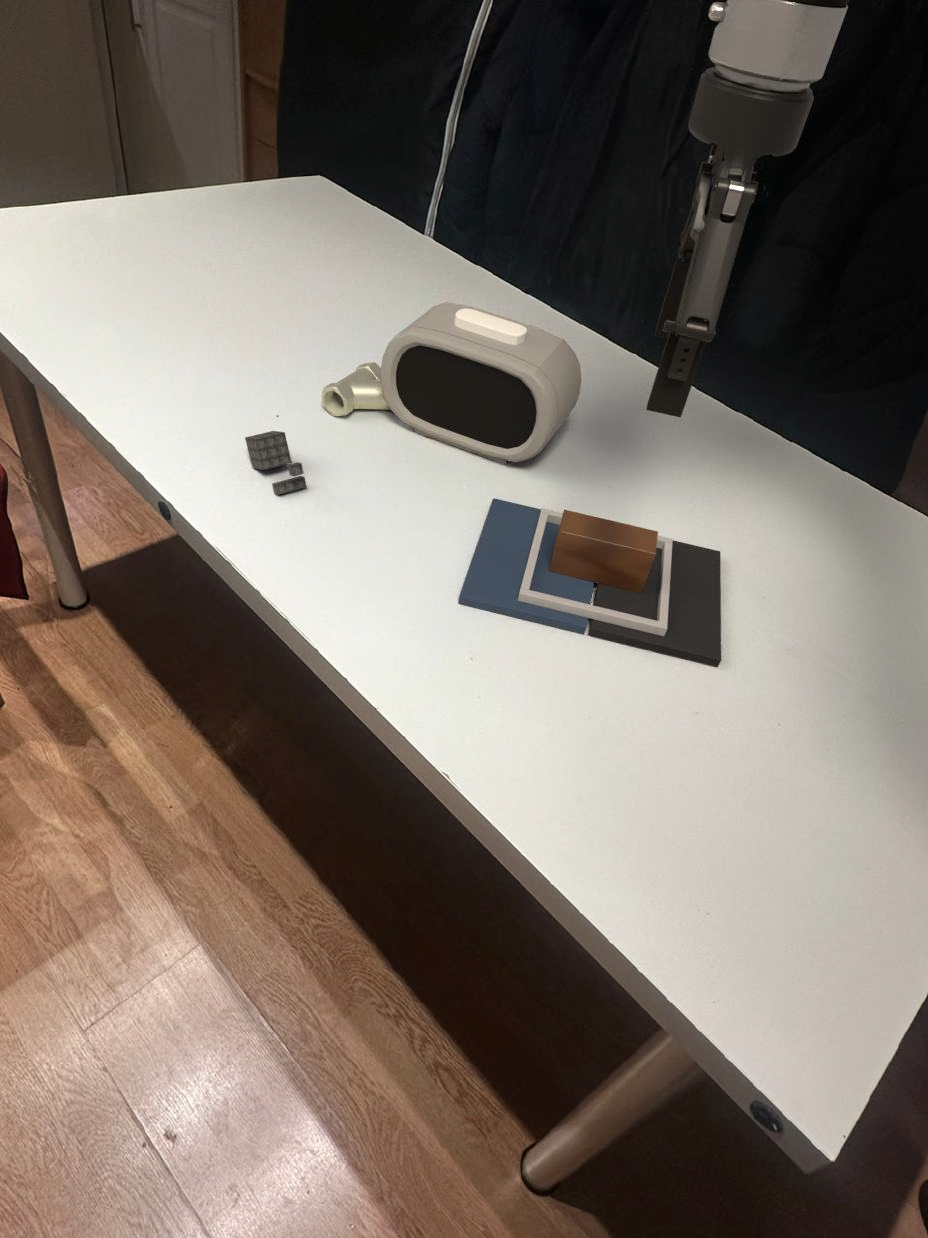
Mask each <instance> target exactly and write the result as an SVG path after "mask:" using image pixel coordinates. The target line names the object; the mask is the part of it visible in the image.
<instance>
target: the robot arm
mask: <svg viewBox="0 0 928 1238" xmlns="http://www.w3.org/2000/svg"><path fill="white" fill-rule="evenodd" d="M849 1H850V0H726V2H723V1H722V2H720V1H716V2H713V3H712V4H711V5H710V8H709V10H708V13H707V16H708V18H709V20H710V21H713V22H719V23H718V24H717V25H716V26H715V28H714V31H713V35H712V38H711V41H710V46H709V50H708V53H707V56H708V58H709V60H710V61H711V62H712V63H713V64H714V66H712V67H709V68H707V69H706V70H705V71H704V72H702V73H701V74H700V78H699V82H698V86H697V90H696V93H695V97H694V100H693V104H692V107H691V111H690V115H689V119H688V123H687V126H688V130H689V132H690V133H691V135H692V136H693V137H695V138H696V139H697V140H698V141H701V142H703V143H705V144H708V145H710V146H711V147H710V149H709V153H708V154H709V155H708V157H707V161H702V162H701V164H700V167H699V169H698V175H697V179H696V182H695V190H694V193H693V197H692V202H691V206H690V210H689V214H688V216H687V220H686V223H685V226H684V228H683V231H681V233H680V246H678V250H677V255H678V256H677V259H682V261H681V260H675V262H674V266H673V270H672V272H671V276H670V280H669V282H668V286H667V290H666V292H665V296H664V299H663V302H662V306H661V310H660V313H659V317H658V320H657V323H656V327H655V330H654V334H653V337H654V338H656V339H660V340H661V339H662V340H666V342H665V345H664V347H663V351H662V354H661V358H660V361H659V365H658V368H657V371H656V375H655V378H654V380H653V384H652V387H651V390H650V394H649V396H648V397H649V398H648V400H647V403H646V409H645V410H646V411H648V412H653V413H659V414H663V415H667V416H671V417H675V418H680V419H681V418H682V415H683V412H684V409H685V406H686V403H687V401H688V398H689V396H690V395H689V394H690V392H691V390H692V387H693V384H694V380H695V377H696V375H697V372H698V369H699V366H700V363H701V360H702V357H703V355H704V351H705V349H706V346H707V343H711V342H712V341H713V339H714V338H715V336H716V334H717V324H718V321H719V317H720V315H721V314H720V313H721V310H722V306H723V303H724V299H725V296H726V293H727V288H728V286H729V283H730V282H729V281H730V278H731V274H732V271H733V267H734V264H735V260H736V257H737V253H738V249H739V246H740V243H741V239H742V236H743V233H744V229H745V225H746V222H747V219H748V217H749V213H750V209H751V207H752V204H753V203H754V202H755V199H756V196H757V193H758V188H759V181H756V179H757V174H758V173H757V172H758V171H754V168H755V163H756V160H757V159H758V158H762V157H764V156H769V157H770V158H774V157H777V158H778V157H783V156H787V155H790V154H791V153H792V152H793V151H794V150H795V149H796V148H797V146H798V144H799V140H800V139H801V135H802V133H803V130H804V127H805V124H806V121H807V119H808V116H809V113H810V110H811V108H812V104H813V102H814V100H815V96H814V95H813V90H812V88H811V87H810V86H811V84H813V83H817V82H818V81H820V80H821V79H822V78H823V77H824V74H825V72H826V68H827V65H828V62H829V61H830V57H831V55H832V52H833V49H834V47H835V44H836V41H837V39H838V35H839V33H840V30H841V28H842V25H843V23H844V19H845V16H846V14H847V11H848V9H849V6H848V4H849ZM695 318H697V319H695ZM700 319H703V320H700Z"/></svg>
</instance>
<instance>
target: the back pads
mask: <svg viewBox="0 0 928 1238" xmlns="http://www.w3.org/2000/svg"><path fill="white" fill-rule="evenodd" d="M562 515H563V512H560V511H555V510H552V509H548V508H544V507H543V508H537V507H533V506H529V505H525V504H520V503H516V502H512V501H508V500H503V499H499V498H495V497H494V498H492V501H491V504H490V506H489V509H488V512H487V515H486V518H485V520H484V524H483V527H482V528H481V529H482V530H481V532H480V535H479V538H478V541H477V544H476V547H475V549H474V552H473V556H472V558H471V560H470V561H471V562H470V564H469V566H468V567H469V568H468V570H467V572H466V576H465V578H464V581H463V584H462V588H461V590H460V593H459V596H458V604H459V605H462V606H467V607H469V608H474V609H479V610H483V611H487V612H490V613H495V614H499V615H502V616H507V617H511V618H515V619H520V620H524V621H527V622H532V623H536V624H538V625H539V624H540V625H543V626H547V627H552V628H556V629H559V630H564V631H569V632H573V633H576V634H581V635H585V633H586V630H587V628H588V627H587V626H588V620H589V619H590V625H589V631H588V637H592V638H595V639H600V640H605V641H609V642H612V643H616V644H621V645H625V646H629V647H634V648H638V649H641V650H644V651H649V652H654V653H657V654H661V655H665V656H670V657H673V658H677V659H682V660H686V661H690V662H693V663H699V664H702V665H707V666H710V667H714V668H718V667H719V666H720V664H721V662H722V596H721V595H722V593H721V592H722V589H721V587H722V585H721V583H722V581H721V580H722V579H721V574H722V573H721V551H720V550H717V549H712V548H708V547H704V546H699V545H695V544H690V543H687V542H684V541H683V542H682V541H678V540H673V538H671V537H667V536H663V535H658V536H657V548H656V555H655V558H654V561H653V563H652V566H651V569H650V571H649V574H648V577H647V579H646V582H645V585H644V587H643V590H642V593H641V594H640V593H636V592H631V591H627V590H623V589H619V588H615V587H611V586H607V585H602V584H598V583H596V587H595V594H594V600H593V604H591V602H592V596H593V590H594V585H595V583H594V582H590V581H586V580H582V579H578V578H574V577H569V576H565V575H561V574H557V573H553V572H549V567H550V563H551V559H552V555H553V550H554V546H555V543H556V539H557V535H558V531H559V527H560V523H561V519H562Z"/></svg>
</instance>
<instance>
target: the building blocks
mask: <svg viewBox="0 0 928 1238" xmlns="http://www.w3.org/2000/svg"><path fill="white" fill-rule="evenodd" d="M244 439H245V444H246V447H247V451H248V455H249V460H250V464H251V467H252V468H253V469H257V470H261V471H266V470H269V469H274V468H277V467H281V466H285V465H286V466H287V469H288V474H289V476H291V477H290V478H287V479H283V480H279V481H276V482H273V483H271V486H272V489H273V493H274V494H275V495H278V496H279V495H282V494H287V493H290V492H294V491H297V490H300V489H304V488H307V486H308V485H307V482H306V478H305V476H302V475H304V469H303V465H302V462H298V461H297V462H293V463H292V457H291V453H290V450H289V444H288V440H287V436H286V432H285V431H277V430H271V431H266V432H262V433H258V434H253V435H249V436H245V437H244Z"/></svg>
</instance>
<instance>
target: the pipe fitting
mask: <svg viewBox="0 0 928 1238" xmlns="http://www.w3.org/2000/svg"><path fill="white" fill-rule="evenodd" d="M321 403H322V405H323V407H324V408H325V409H326V410H327V412H328V413H329V414H330V415H332V416H333V417H343V416H347V415H348V414H350V413H351V412H353V411H354V410H390V411H392V410H391V409H390V407H389V405H388V403H387V401H386V399H385V397H384V393H383V389H382V385H381V366H380V365H379V364H377V363H376V362H374V361H373V362H365V363H361V364H360V365H358V366H357V367H355V370H354V371H353V372H351V373H349V374H348V375H347V376H345V377H343V378H342V379H340V380H338V381H337V382H331V383H329V384H327V385H325V386H324V387H323V388H322V392H321Z"/></svg>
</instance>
